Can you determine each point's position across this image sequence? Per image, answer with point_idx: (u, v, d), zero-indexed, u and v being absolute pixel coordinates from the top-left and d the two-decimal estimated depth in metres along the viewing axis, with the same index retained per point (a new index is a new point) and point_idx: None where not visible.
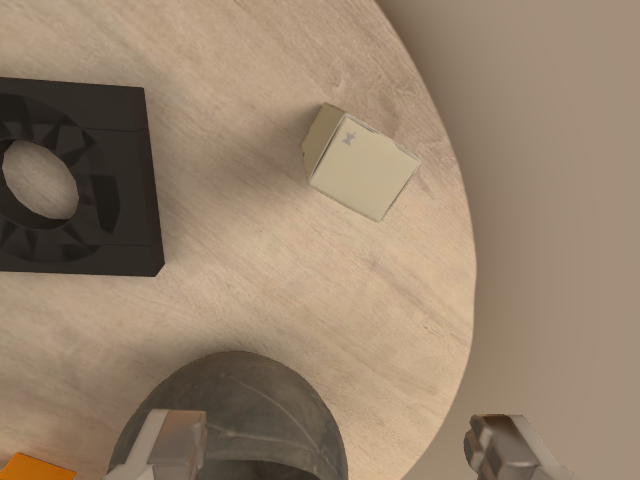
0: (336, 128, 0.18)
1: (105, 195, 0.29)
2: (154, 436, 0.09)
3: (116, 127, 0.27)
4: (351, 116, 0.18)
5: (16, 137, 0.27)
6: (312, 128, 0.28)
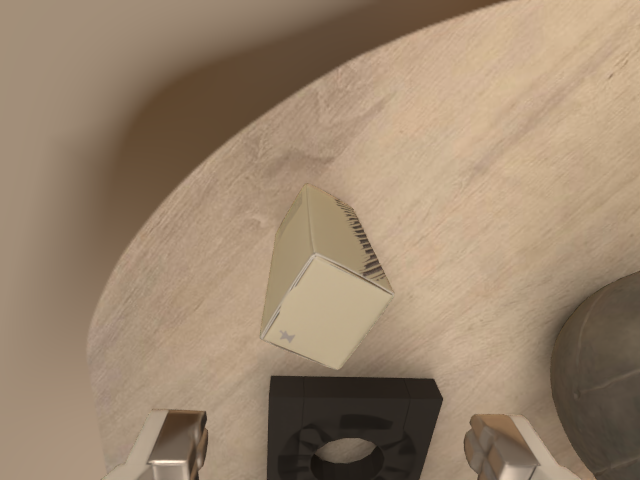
0: (276, 346, 0.16)
1: (358, 422, 0.33)
2: (154, 436, 0.09)
3: (300, 408, 0.32)
4: (263, 333, 0.16)
5: (309, 463, 0.35)
6: None
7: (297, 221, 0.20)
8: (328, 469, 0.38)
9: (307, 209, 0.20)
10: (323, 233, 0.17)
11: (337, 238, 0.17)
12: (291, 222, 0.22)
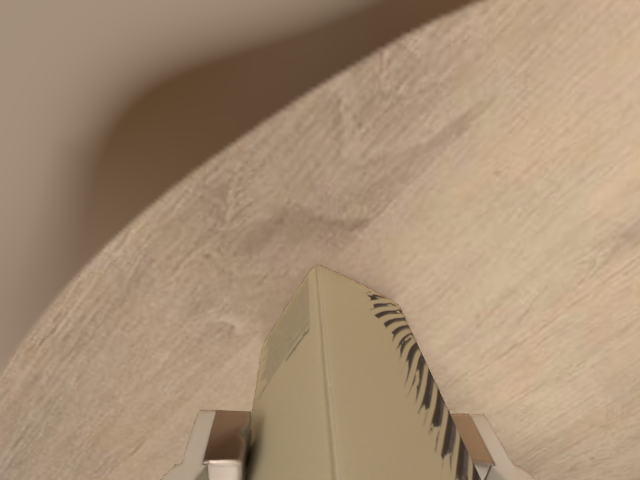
0: None
1: None
2: (206, 436, 0.09)
3: None
4: None
5: None
6: None
7: (300, 401, 0.09)
8: None
9: (324, 385, 0.08)
10: None
11: None
12: (287, 374, 0.11)
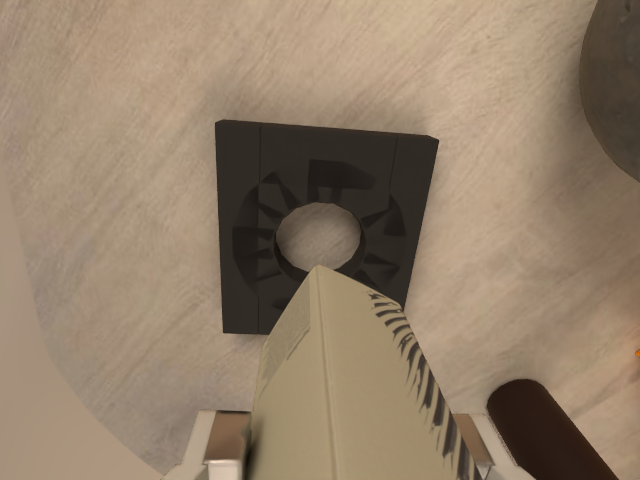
0: None
1: (331, 175, 0.26)
2: (206, 436, 0.09)
3: (257, 146, 0.25)
4: None
5: (271, 244, 0.28)
6: None
7: (300, 400, 0.09)
8: (299, 272, 0.31)
9: (325, 384, 0.08)
10: None
11: None
12: (288, 373, 0.10)
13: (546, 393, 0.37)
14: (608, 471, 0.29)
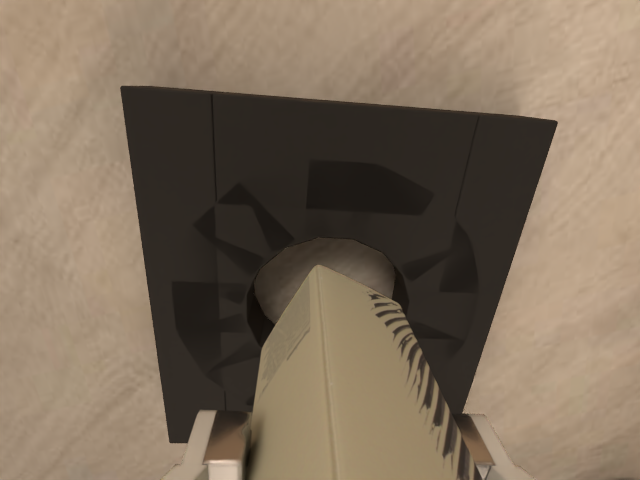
0: None
1: (351, 188, 0.14)
2: (206, 437, 0.09)
3: (207, 134, 0.13)
4: None
5: (243, 308, 0.16)
6: None
7: (300, 401, 0.09)
8: None
9: (325, 384, 0.08)
10: None
11: None
12: (288, 374, 0.10)
13: None
14: None
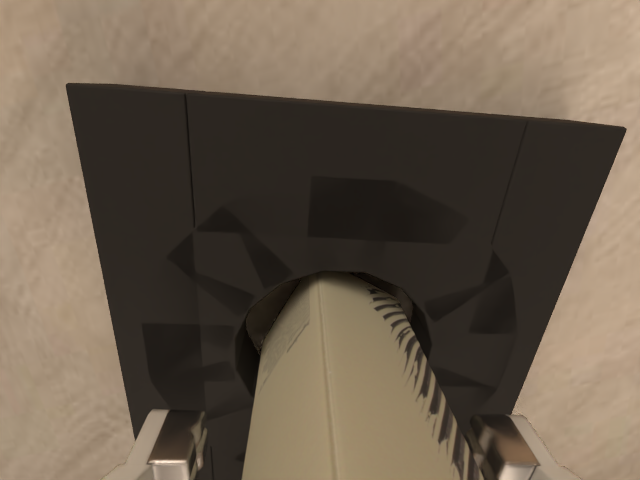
0: None
1: (363, 212, 0.11)
2: (154, 436, 0.09)
3: (180, 145, 0.10)
4: None
5: (231, 354, 0.13)
6: None
7: (300, 390, 0.09)
8: None
9: (324, 373, 0.08)
10: None
11: None
12: (288, 365, 0.11)
13: None
14: None
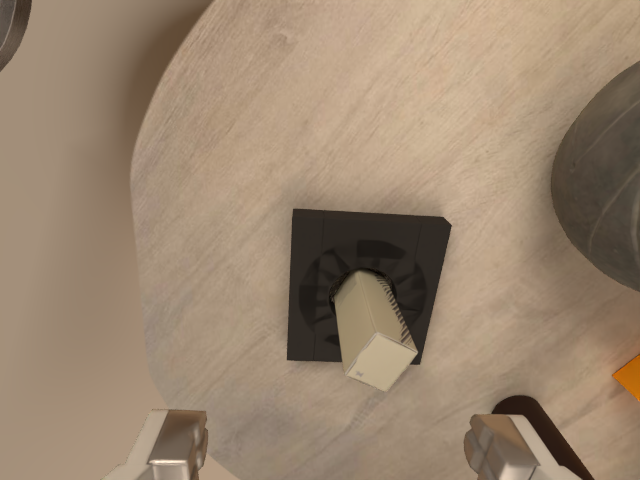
0: (353, 378, 0.29)
1: (373, 249, 0.36)
2: (154, 436, 0.09)
3: (320, 231, 0.35)
4: (346, 372, 0.29)
5: (327, 296, 0.38)
6: None
7: (356, 298, 0.34)
8: None
9: (363, 293, 0.33)
10: (376, 314, 0.30)
11: (384, 316, 0.31)
12: (350, 296, 0.35)
13: (538, 407, 0.46)
14: (583, 469, 0.38)
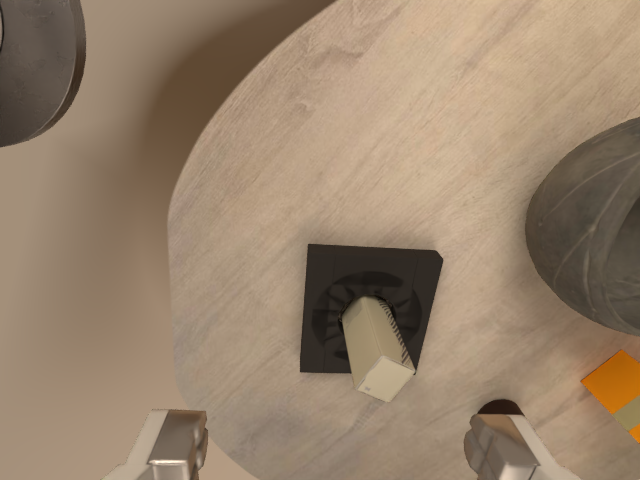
0: (362, 392, 0.35)
1: (376, 279, 0.42)
2: (154, 436, 0.09)
3: (332, 264, 0.41)
4: (356, 387, 0.35)
5: (336, 318, 0.44)
6: None
7: (363, 323, 0.40)
8: None
9: (369, 318, 0.39)
10: (381, 338, 0.36)
11: (387, 339, 0.37)
12: (357, 319, 0.42)
13: (517, 409, 0.53)
14: None
